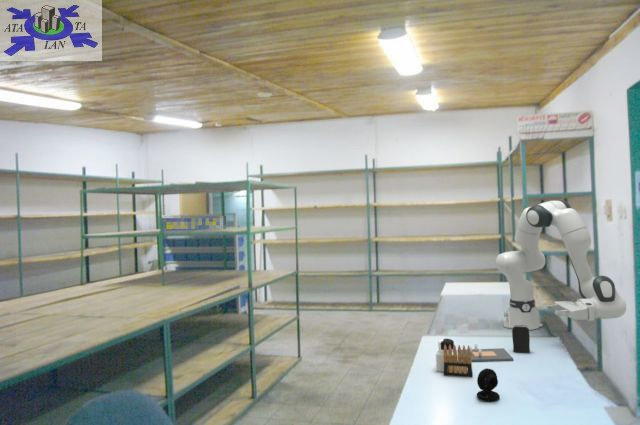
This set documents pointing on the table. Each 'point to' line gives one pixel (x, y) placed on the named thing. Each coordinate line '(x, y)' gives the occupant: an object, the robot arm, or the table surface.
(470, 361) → the ammunition clip
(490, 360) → the dock
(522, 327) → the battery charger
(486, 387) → the webcam
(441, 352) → the medicine bottle
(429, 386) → the table surface
